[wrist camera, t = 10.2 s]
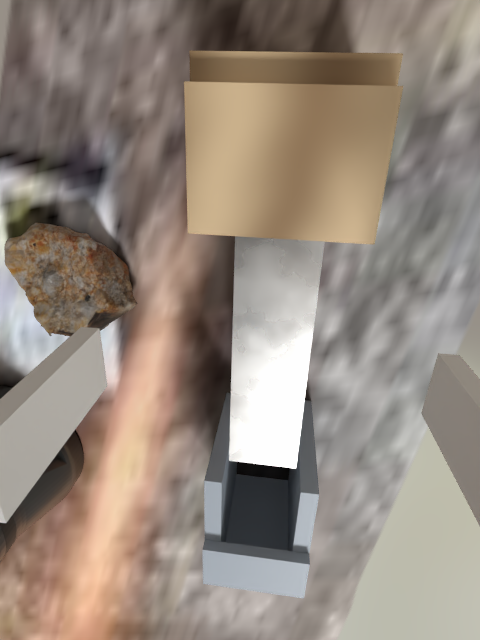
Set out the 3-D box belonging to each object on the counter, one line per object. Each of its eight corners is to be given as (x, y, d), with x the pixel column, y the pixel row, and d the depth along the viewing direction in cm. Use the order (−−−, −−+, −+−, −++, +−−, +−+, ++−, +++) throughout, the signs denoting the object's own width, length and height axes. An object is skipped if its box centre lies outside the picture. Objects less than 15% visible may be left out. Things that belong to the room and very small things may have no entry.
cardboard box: (225, 200, 28) (187, 233, 18) (227, 86, 25) (183, 44, 15) (342, 206, 27) (374, 244, 17) (358, 89, 24) (410, 47, 14)
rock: (157, 283, 32) (58, 186, 27) (128, 331, 28) (6, 226, 23) (99, 320, 36) (6, 243, 32) (67, 367, 32) (-45, 284, 28)
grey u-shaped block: (224, 481, 40) (203, 593, 30) (226, 392, 35) (202, 490, 25) (299, 490, 39) (302, 607, 29) (311, 401, 34) (319, 504, 24)
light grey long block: (243, 384, 34) (228, 461, 26) (252, 167, 26) (235, 178, 18) (295, 389, 34) (296, 469, 25) (319, 170, 26) (333, 182, 18)
